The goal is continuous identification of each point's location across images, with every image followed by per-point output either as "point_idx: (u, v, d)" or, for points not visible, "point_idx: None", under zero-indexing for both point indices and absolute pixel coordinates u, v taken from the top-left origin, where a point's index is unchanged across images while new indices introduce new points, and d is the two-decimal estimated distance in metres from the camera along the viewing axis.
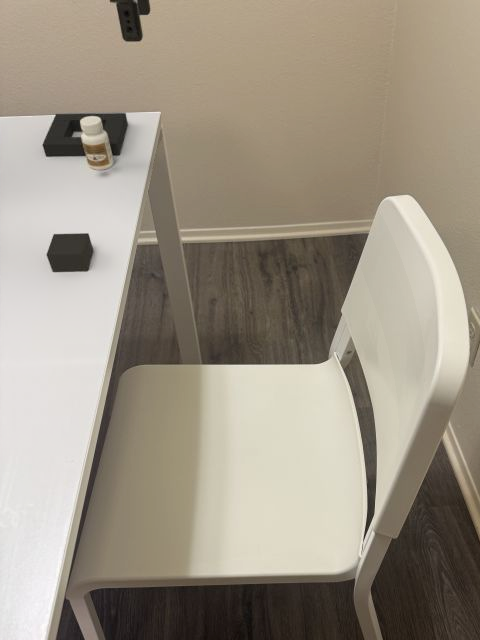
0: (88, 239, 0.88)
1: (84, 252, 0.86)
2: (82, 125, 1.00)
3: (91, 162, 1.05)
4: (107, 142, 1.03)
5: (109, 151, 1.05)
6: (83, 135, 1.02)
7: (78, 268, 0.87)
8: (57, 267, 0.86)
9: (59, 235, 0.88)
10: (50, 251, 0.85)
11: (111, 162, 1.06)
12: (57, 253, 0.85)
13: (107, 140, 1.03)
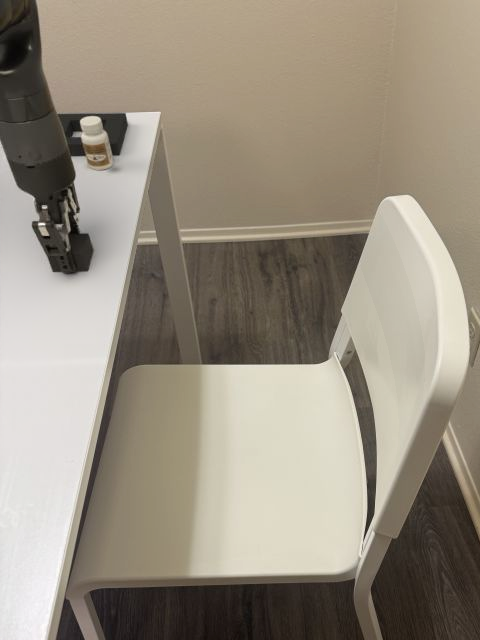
0: (88, 239, 0.88)
1: (85, 252, 0.86)
2: (82, 125, 1.00)
3: (91, 162, 1.05)
4: (107, 142, 1.03)
5: (109, 151, 1.05)
6: (83, 135, 1.02)
7: (78, 268, 0.87)
8: (57, 267, 0.87)
9: None
10: None
11: (111, 162, 1.06)
12: None
13: (107, 140, 1.03)
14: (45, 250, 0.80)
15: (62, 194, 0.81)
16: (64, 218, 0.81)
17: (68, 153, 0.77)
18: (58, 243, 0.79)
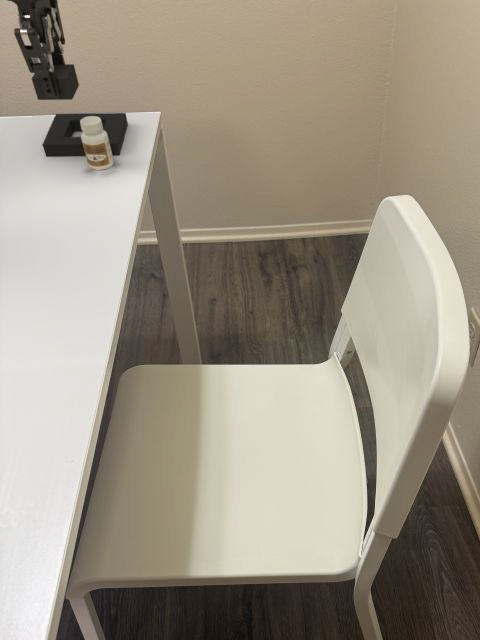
0: (73, 70, 0.90)
1: (69, 78, 0.88)
2: (82, 125, 1.00)
3: (91, 162, 1.05)
4: (107, 142, 1.03)
5: (109, 151, 1.05)
6: (83, 135, 1.02)
7: (63, 96, 0.89)
8: (42, 94, 0.88)
9: None
10: (35, 76, 0.87)
11: (111, 162, 1.06)
12: None
13: (107, 140, 1.03)
14: (28, 65, 0.82)
15: (46, 12, 0.83)
16: (47, 34, 0.83)
17: None
18: (40, 56, 0.81)
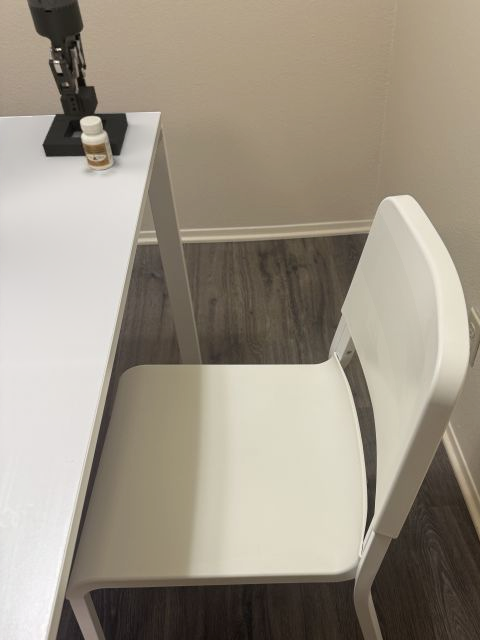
0: (93, 90, 1.08)
1: (91, 98, 1.06)
2: (82, 125, 1.00)
3: (91, 162, 1.05)
4: (107, 142, 1.03)
5: (109, 151, 1.05)
6: (83, 135, 1.02)
7: (85, 112, 1.06)
8: (69, 111, 1.06)
9: None
10: (63, 96, 1.05)
11: (111, 162, 1.06)
12: None
13: (107, 140, 1.03)
14: (59, 88, 1.00)
15: (72, 44, 1.01)
16: (74, 63, 1.00)
17: (77, 4, 0.96)
18: (69, 81, 0.99)
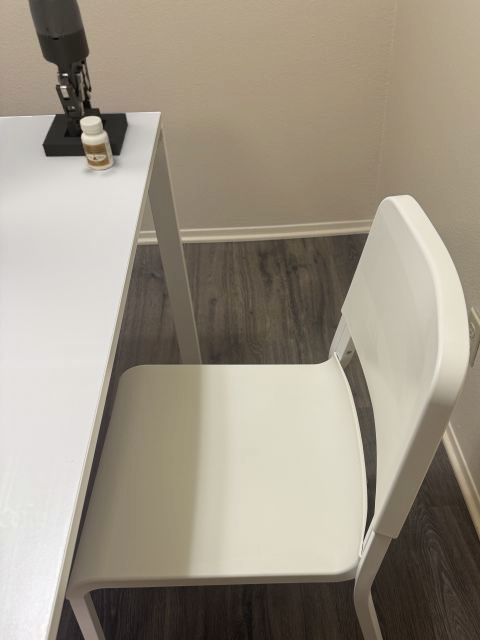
0: (99, 112, 1.11)
1: None
2: (82, 125, 1.00)
3: (91, 162, 1.05)
4: (107, 142, 1.03)
5: (109, 151, 1.05)
6: (83, 135, 1.02)
7: None
8: (74, 133, 1.09)
9: None
10: (69, 119, 1.08)
11: (111, 162, 1.06)
12: None
13: (107, 140, 1.03)
14: (65, 112, 1.03)
15: (78, 69, 1.04)
16: (80, 87, 1.03)
17: (84, 31, 0.99)
18: (75, 105, 1.02)
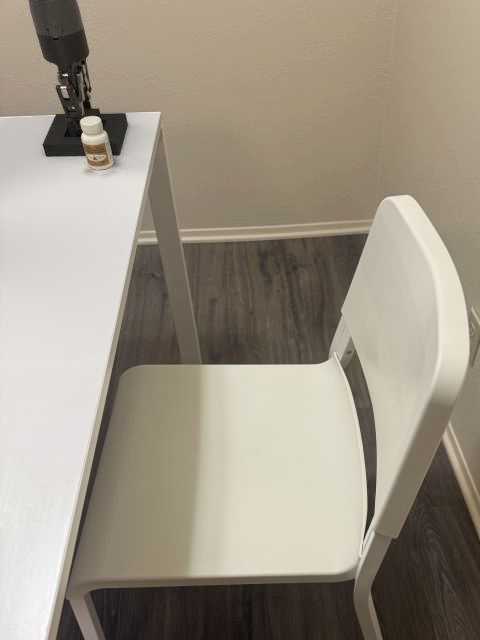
0: (99, 113, 1.11)
1: None
2: (82, 125, 1.00)
3: (91, 162, 1.05)
4: (107, 142, 1.03)
5: (109, 151, 1.05)
6: (83, 135, 1.02)
7: None
8: (74, 133, 1.09)
9: None
10: (69, 119, 1.08)
11: (111, 162, 1.06)
12: None
13: (107, 140, 1.03)
14: (65, 112, 1.03)
15: (79, 69, 1.04)
16: (80, 87, 1.03)
17: (84, 32, 0.99)
18: (76, 105, 1.02)
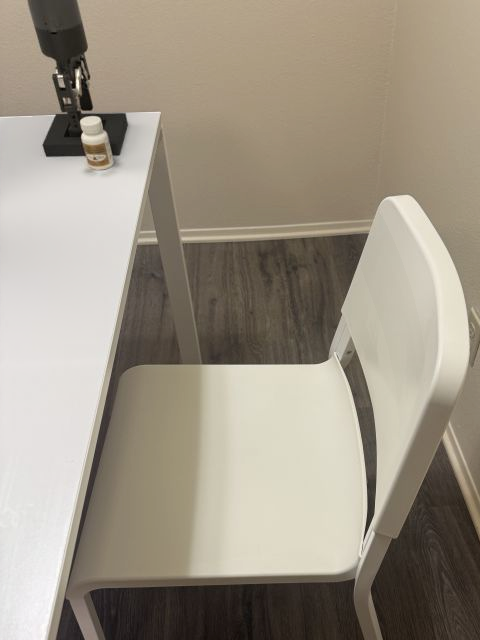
0: None
1: None
2: (82, 125, 1.00)
3: (91, 162, 1.05)
4: (107, 142, 1.03)
5: (109, 151, 1.05)
6: (83, 135, 1.02)
7: None
8: None
9: None
10: None
11: (111, 162, 1.06)
12: None
13: (107, 140, 1.03)
14: (60, 104, 1.01)
15: (77, 65, 1.03)
16: (78, 82, 1.03)
17: (82, 26, 0.98)
18: (71, 96, 1.00)
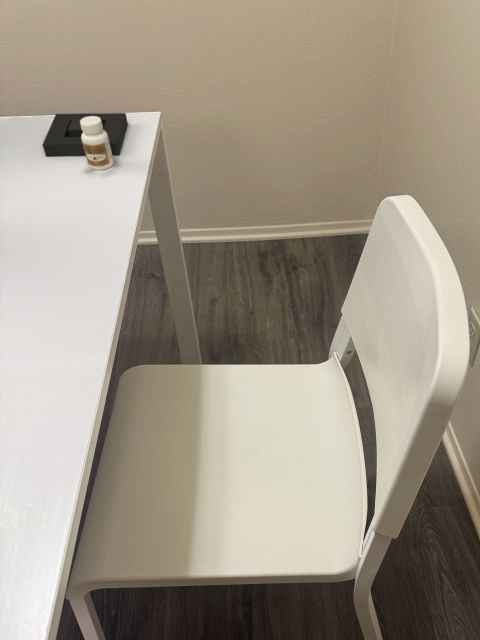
0: None
1: None
2: (82, 125, 1.00)
3: (91, 162, 1.05)
4: (107, 142, 1.03)
5: (109, 151, 1.05)
6: (83, 135, 1.02)
7: None
8: None
9: (77, 118, 1.12)
10: (71, 127, 1.09)
11: (111, 162, 1.06)
12: (76, 129, 1.09)
13: (107, 140, 1.03)
14: None
15: None
16: None
17: None
18: None
